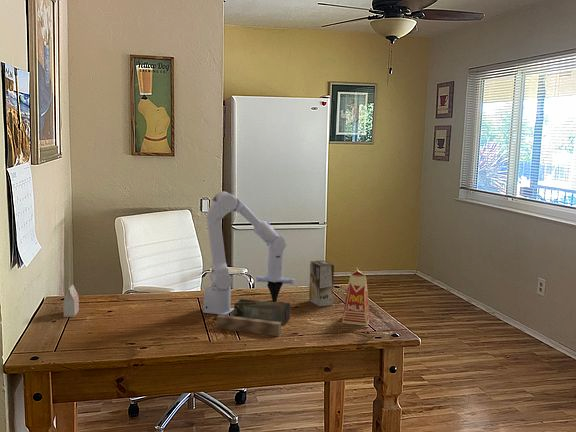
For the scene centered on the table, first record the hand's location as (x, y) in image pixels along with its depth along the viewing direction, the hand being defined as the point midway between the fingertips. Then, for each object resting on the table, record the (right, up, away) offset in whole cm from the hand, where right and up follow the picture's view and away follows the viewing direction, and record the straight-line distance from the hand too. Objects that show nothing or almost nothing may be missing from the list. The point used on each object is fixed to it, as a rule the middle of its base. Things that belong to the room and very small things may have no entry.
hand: (274, 301), depth 223 cm
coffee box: (+18, -2, +8) cm, 20 cm away
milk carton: (+29, -5, -13) cm, 32 cm away
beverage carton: (-4, -5, -14) cm, 15 cm away
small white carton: (-72, -3, -14) cm, 74 cm away
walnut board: (-8, -6, -27) cm, 29 cm away
